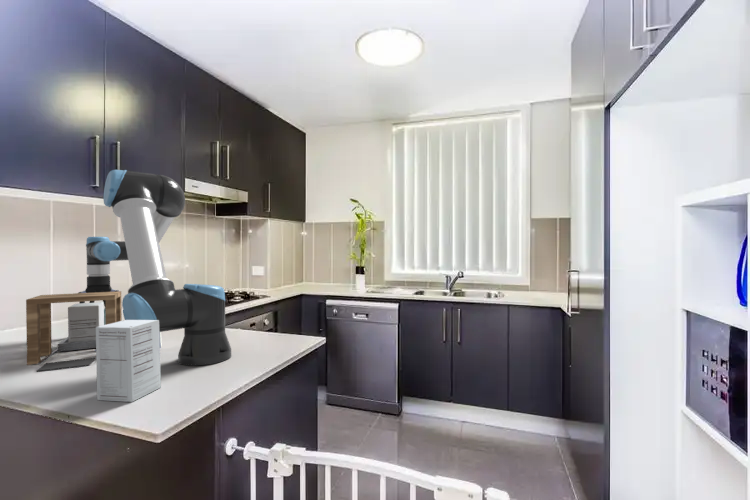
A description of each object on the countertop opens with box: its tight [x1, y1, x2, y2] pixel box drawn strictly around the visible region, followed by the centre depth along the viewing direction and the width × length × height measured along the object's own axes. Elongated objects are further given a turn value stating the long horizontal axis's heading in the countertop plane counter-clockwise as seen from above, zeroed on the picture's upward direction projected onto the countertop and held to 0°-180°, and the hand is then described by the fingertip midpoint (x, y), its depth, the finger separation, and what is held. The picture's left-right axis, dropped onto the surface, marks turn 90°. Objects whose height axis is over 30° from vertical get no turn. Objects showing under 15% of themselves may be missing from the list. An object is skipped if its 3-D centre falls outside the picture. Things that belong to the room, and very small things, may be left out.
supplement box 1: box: [67, 301, 105, 351], centre depth 134 cm, size 9×9×15 cm
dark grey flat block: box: [36, 357, 96, 373], centre depth 112 cm, size 8×12×1 cm, turn 116°
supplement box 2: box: [95, 319, 162, 403], centre depth 89 cm, size 10×9×17 cm
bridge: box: [25, 290, 123, 366], centre depth 123 cm, size 12×22×20 cm, turn 116°
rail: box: [37, 347, 59, 365], centre depth 129 cm, size 28×16×1 cm, turn 26°
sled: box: [57, 308, 106, 352], centre depth 141 cm, size 26×14×10 cm, turn 26°
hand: (99, 333), depth 151 cm, fingers closed on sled, 4 cm apart
